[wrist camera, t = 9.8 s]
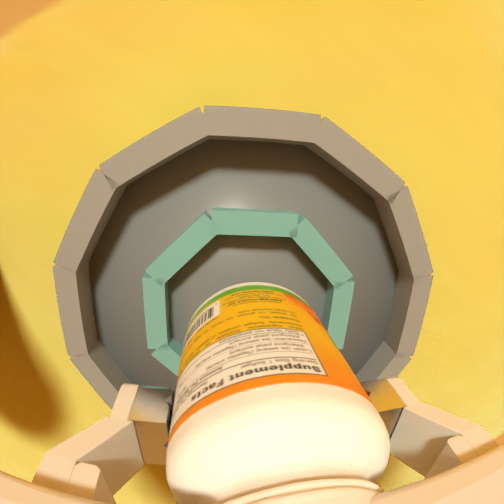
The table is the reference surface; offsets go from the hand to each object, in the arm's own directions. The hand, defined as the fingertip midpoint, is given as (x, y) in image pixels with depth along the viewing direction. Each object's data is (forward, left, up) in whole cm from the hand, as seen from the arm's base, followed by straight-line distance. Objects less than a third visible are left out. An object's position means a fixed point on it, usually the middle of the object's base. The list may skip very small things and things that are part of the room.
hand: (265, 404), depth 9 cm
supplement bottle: (0, 0, -4) cm, 4 cm away
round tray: (0, 0, -8) cm, 8 cm away
